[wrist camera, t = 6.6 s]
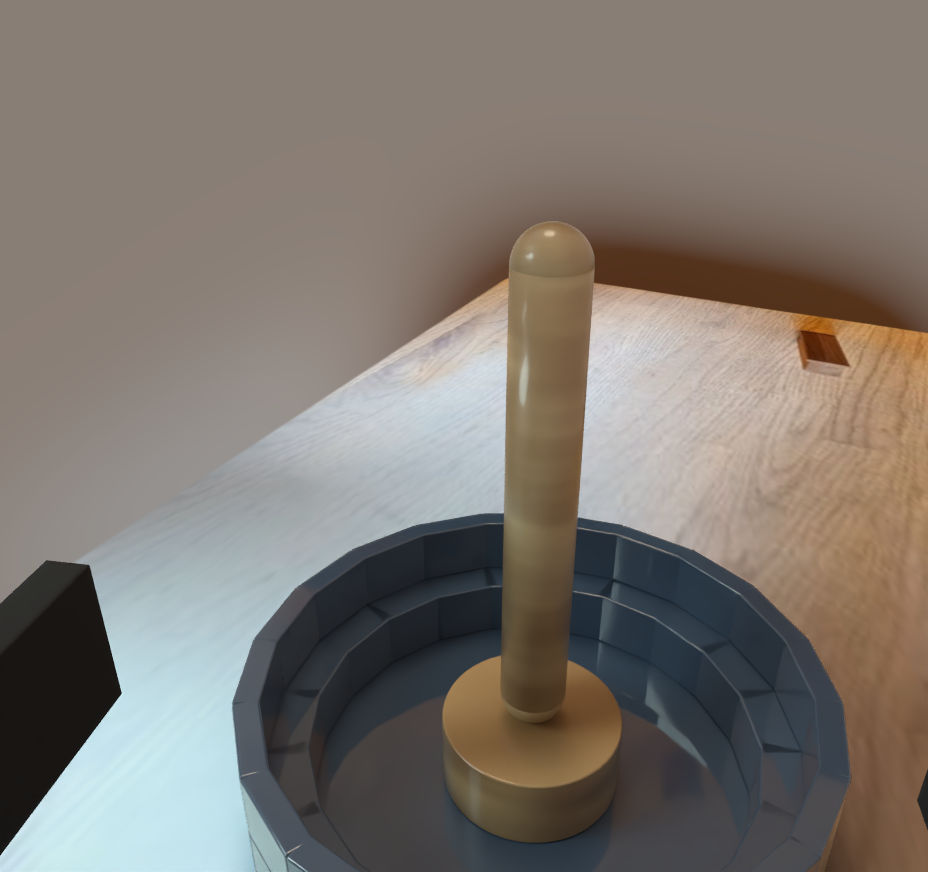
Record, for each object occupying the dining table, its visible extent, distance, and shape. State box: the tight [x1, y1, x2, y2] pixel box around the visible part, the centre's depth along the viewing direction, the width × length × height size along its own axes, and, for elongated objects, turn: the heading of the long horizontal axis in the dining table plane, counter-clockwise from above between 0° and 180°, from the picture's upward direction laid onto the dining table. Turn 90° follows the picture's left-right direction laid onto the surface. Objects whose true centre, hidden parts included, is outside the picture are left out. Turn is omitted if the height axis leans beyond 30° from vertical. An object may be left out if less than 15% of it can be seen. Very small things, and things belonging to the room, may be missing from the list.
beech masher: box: [442, 221, 623, 843], centre depth 23 cm, size 6×6×18 cm
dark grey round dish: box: [232, 513, 851, 872], centre depth 26 cm, size 18×18×5 cm
